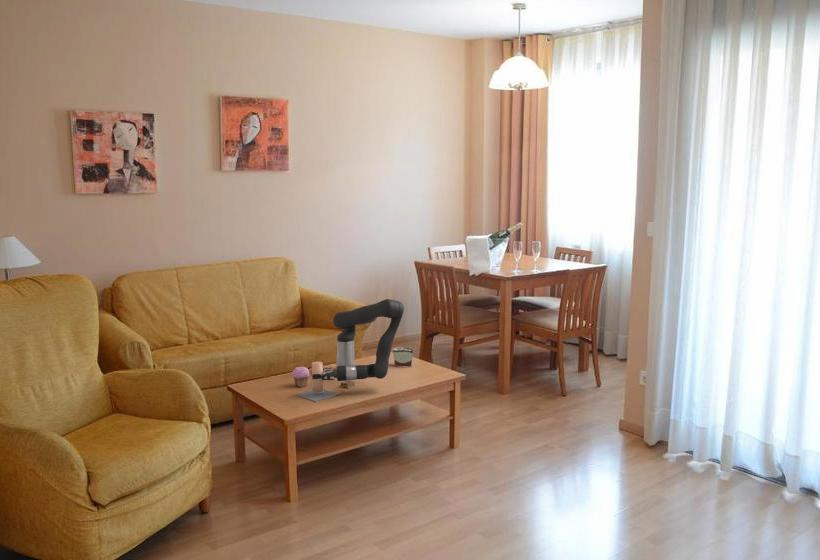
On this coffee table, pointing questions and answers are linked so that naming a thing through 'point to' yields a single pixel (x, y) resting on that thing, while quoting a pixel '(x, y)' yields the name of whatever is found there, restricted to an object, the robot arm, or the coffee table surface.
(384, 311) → the robot arm
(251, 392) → the coffee table surface
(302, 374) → the cupcake
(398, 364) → the food container
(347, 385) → the walnut block
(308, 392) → the charcoal mat
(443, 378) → the coffee table surface
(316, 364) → the terracotta canister
